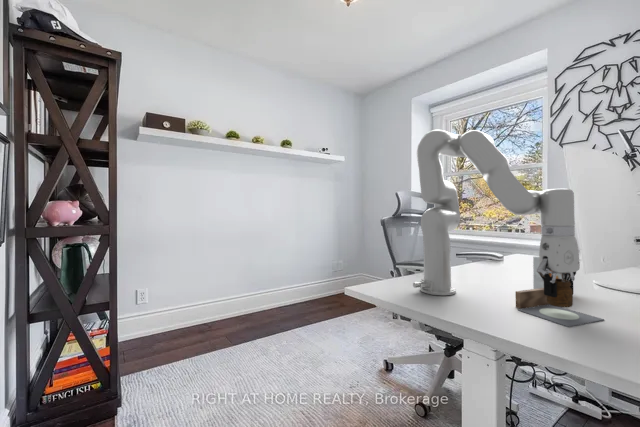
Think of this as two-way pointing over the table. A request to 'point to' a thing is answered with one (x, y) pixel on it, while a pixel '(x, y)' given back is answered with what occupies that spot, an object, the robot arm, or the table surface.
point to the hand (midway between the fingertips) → (558, 294)
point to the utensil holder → (562, 294)
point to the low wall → (530, 298)
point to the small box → (536, 276)
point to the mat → (560, 315)
